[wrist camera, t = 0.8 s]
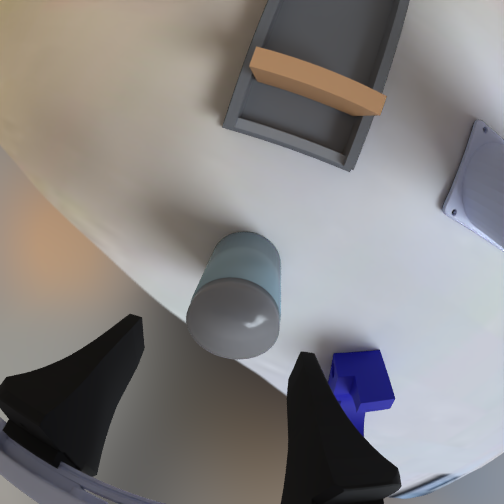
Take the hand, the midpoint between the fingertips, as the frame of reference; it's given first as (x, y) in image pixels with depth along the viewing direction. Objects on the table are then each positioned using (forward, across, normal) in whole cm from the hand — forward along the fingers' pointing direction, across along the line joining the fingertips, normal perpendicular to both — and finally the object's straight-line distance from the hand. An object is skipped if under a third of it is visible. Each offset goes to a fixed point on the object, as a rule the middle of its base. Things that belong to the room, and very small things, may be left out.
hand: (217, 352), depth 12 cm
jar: (+10, 0, +1) cm, 10 cm away
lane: (+9, -3, -18) cm, 21 cm away
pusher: (+9, -2, -12) cm, 15 cm away
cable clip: (+10, -13, +13) cm, 21 cm away
